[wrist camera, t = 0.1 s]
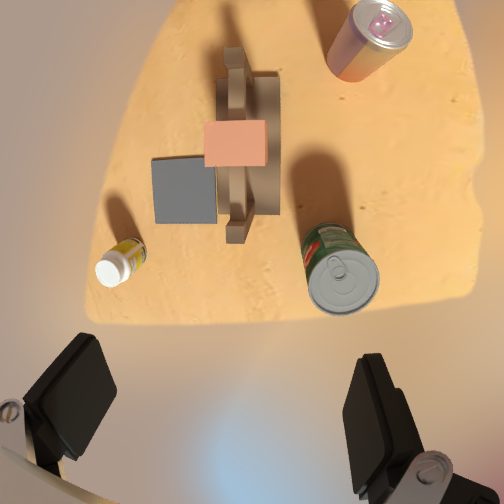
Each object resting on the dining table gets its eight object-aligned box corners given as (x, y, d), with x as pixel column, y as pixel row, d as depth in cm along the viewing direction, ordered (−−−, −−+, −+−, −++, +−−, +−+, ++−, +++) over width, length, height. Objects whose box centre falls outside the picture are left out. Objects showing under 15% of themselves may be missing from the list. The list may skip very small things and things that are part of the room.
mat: (152, 160, 37) (151, 161, 37) (215, 157, 37) (214, 157, 36) (156, 223, 40) (155, 223, 40) (217, 222, 40) (216, 223, 39)
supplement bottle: (115, 247, 42) (87, 267, 35) (134, 230, 41) (105, 249, 33) (133, 271, 44) (108, 295, 36) (153, 256, 42) (128, 279, 34)
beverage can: (317, 65, 31) (338, 20, 17) (340, 36, 29) (371, -15, 15) (354, 92, 32) (396, 63, 18) (376, 63, 30) (424, 26, 16)
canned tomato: (364, 259, 40) (389, 296, 29) (316, 284, 42) (326, 327, 31) (341, 211, 38) (364, 236, 27) (290, 238, 40) (295, 272, 29)
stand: (218, 80, 33) (187, 49, 20) (280, 79, 32) (280, 44, 19) (220, 212, 39) (192, 244, 26) (279, 213, 38) (280, 246, 26)
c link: (218, 126, 29) (203, 122, 23) (267, 125, 28) (264, 119, 22) (219, 163, 30) (204, 167, 24) (267, 162, 30) (265, 166, 24)
